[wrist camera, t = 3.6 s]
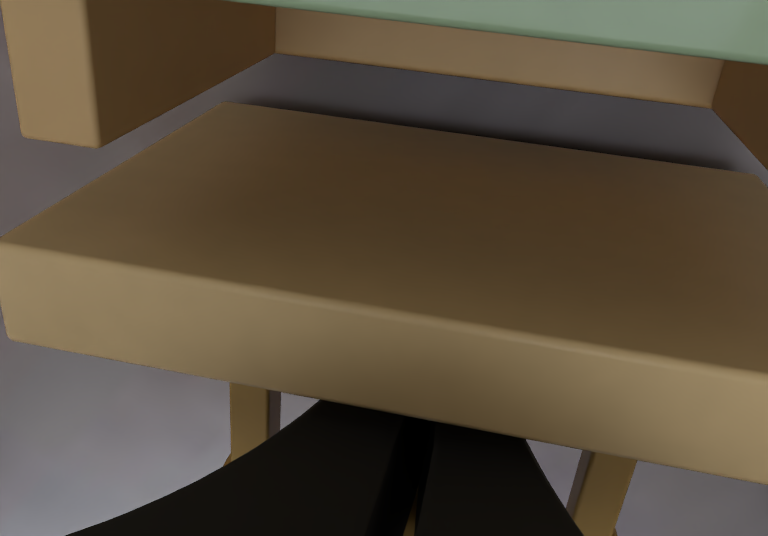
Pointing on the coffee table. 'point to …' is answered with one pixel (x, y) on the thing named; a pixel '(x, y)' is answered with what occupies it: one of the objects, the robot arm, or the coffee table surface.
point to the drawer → (400, 240)
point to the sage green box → (584, 21)
